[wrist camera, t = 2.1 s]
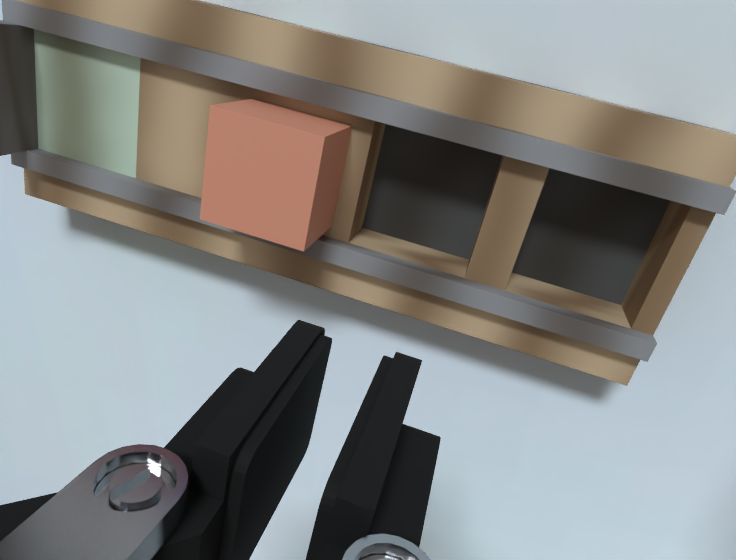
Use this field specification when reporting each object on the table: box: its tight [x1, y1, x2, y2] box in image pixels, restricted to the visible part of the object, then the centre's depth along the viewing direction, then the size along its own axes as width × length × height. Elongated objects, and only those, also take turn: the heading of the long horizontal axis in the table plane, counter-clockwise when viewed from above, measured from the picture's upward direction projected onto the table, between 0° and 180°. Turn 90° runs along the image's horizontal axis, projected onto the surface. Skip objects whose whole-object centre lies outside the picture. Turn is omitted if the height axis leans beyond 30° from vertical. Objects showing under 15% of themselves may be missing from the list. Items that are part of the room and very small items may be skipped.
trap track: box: [0, 0, 736, 385], centre depth 26 cm, size 34×12×6 cm, turn 77°
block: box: [200, 99, 352, 251], centre depth 25 cm, size 5×5×4 cm
